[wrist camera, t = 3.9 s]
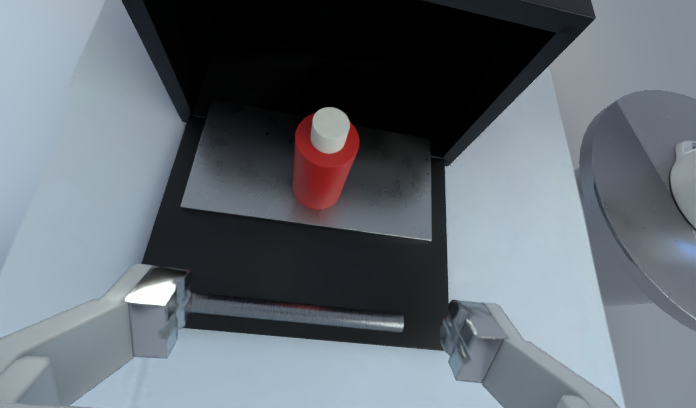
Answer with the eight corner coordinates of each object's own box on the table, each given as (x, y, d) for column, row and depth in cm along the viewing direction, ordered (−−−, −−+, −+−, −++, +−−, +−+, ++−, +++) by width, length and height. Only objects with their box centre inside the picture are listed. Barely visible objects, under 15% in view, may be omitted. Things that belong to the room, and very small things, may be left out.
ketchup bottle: (335, 162, 34) (356, 91, 24) (345, 205, 32) (373, 149, 22) (288, 168, 33) (290, 96, 22) (297, 213, 31) (302, 157, 21)
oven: (454, 351, 31) (698, 384, 13) (116, 321, 27) (-242, 306, 9) (443, 30, 47) (546, -163, 28) (227, -18, 43) (184, -281, 24)
